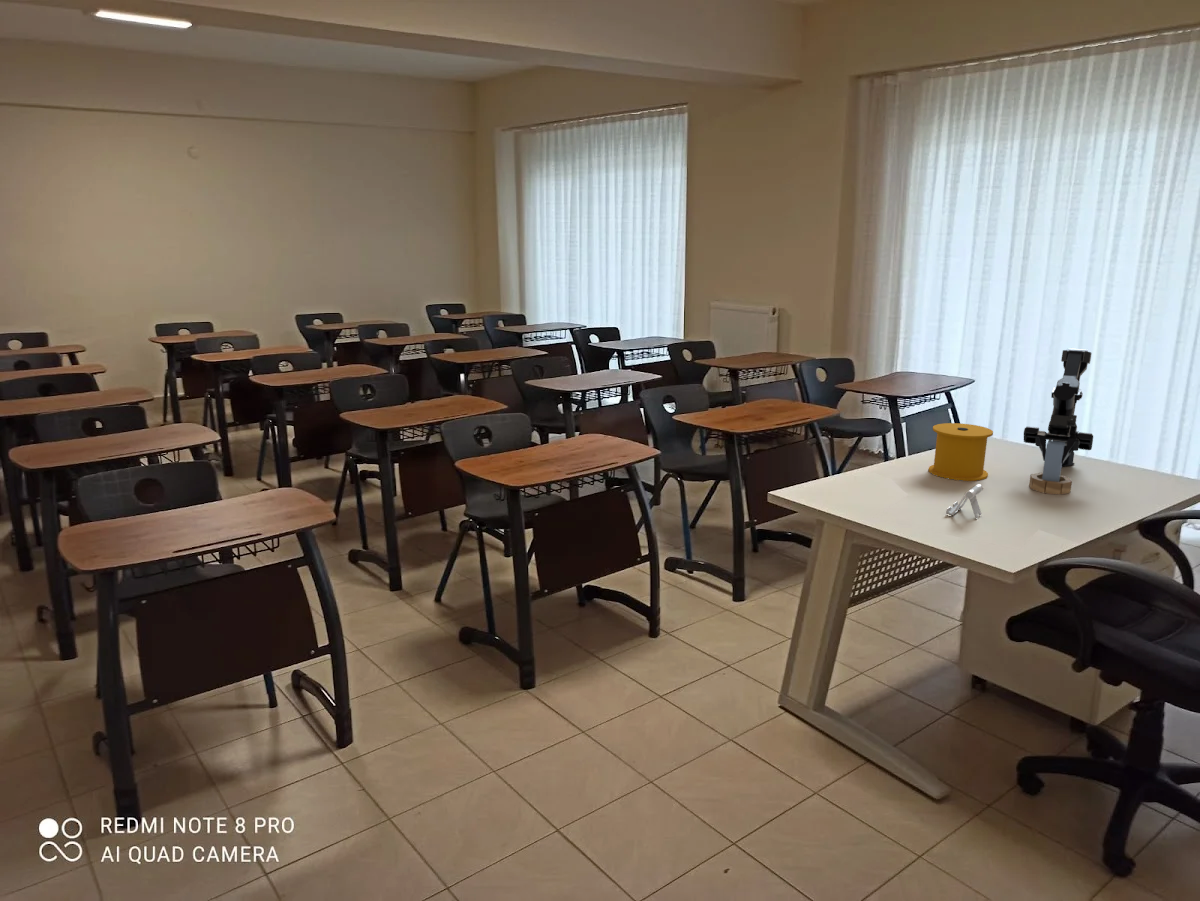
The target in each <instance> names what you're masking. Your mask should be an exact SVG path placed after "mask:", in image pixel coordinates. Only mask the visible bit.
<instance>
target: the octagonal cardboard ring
mask: <svg viewBox="0 0 1200 901" xmlns="http://www.w3.org/2000/svg"><path fill="white" fill-rule="evenodd" d="M1042 476H1043V472H1036V473H1031V474H1030V475H1029V482H1028V483H1029V485H1028V486H1029V488H1030V489H1031V490H1032V489H1033V490H1032V491H1035V490H1036V491H1035V492H1039V493H1042V494H1051V495H1059V496H1060V495H1066V494H1071V490H1072V485H1073V481H1072V479H1071V478H1070V477H1068V476H1065V475H1061V474H1060V481H1059V482H1055V481H1046V480H1043V479H1042Z"/></svg>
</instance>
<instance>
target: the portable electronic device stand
mask: <svg viewBox="0 0 1200 901" xmlns="http://www.w3.org/2000/svg"><path fill="white" fill-rule="evenodd" d="M983 489H984V488H983V485H982V484H979V483H978V484H975V485H974V486H973V487H971V488H970V489H969V490H967V491H966V492H965V493H964V495H963V496H962V497H961V498H962V499H960V501H957V500H956V501H955V502H953V503H952V505H950V506H949V507H947V508H946V510H945V514H949V515H953V516H954V515H955V514H956V513H958V512H959V511H961V508H963V507H964V506H965V504H966V503H967V500H969V502H970V506H971V509H972V512H973V515H974V518H975V519H976V518H978V519H979V515H981V514H982V512H981V511H982V510H981V508H980V505H979V501H978V499H977V495H978V494H979V493H981V492H982V491H983ZM958 510H959V511H958Z"/></svg>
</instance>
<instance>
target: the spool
mask: <svg viewBox="0 0 1200 901" xmlns="http://www.w3.org/2000/svg"><path fill="white" fill-rule="evenodd" d="M932 431H933V432H935V433H936V439H935V440H936V441H935V449H934V450H935V451H934V460H933V464H931V465H929V466H928V472H929V473H930V474H931V473H932V474H931V475H933V474H934V475H933V476H935V475H937V476H936V477H938V476H940V477H939V478H941V477H944V478H943V479H946V478H949V479H948V480H951V479H954V480H953V481H959V480H963V481H962V482H977V480H978V481H983V480H985V479H988V477H989V472H987V471H986V470H985V469H984V468H985V460H986V454H987V453H986V452H987V446H988V445H987V443H988V438H990V437H992V436H993V435H994V431H993V430H992V429H990V428H987V427H986V426H981V425H976V424H970V423H962V422H961V423H957V422H956V423H955V422H954V423H953V422H949V423H948V422H944V423H938V424H935V425H933V426H932ZM982 479H983V480H982Z"/></svg>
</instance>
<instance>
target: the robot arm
mask: <svg viewBox="0 0 1200 901" xmlns="http://www.w3.org/2000/svg"><path fill="white" fill-rule="evenodd" d="M1091 360H1092V352H1090V351H1089V349H1085V348H1083V349H1081V348H1067V349H1064V350H1062V353H1061V359H1060V361H1061V362H1062V364H1063V365H1062V366H1063V369H1064V371H1063V375H1062V377H1061V378H1060V379H1058V380H1057V383H1056V386H1054V387H1053V388H1052V391H1051V399H1053V400H1052V406H1053V408H1052V414H1051V415H1050V421H1049V422H1048V427H1047V431H1048V432H1046V431H1044V430H1040V428H1039V427H1038V426H1037V427H1036V426H1026V427H1024V429H1023V442H1024V443H1025V444H1026V443H1027V444H1034V445H1035V446H1036V447H1039V450H1040V452H1041V456H1042V460H1043V461H1045V454H1046V447H1047V441H1056V442H1065V447H1064V453H1063V456H1062V462H1061V463H1062V467H1067V466H1074V465H1075V462H1074V460H1075V459H1074V458H1075V452H1077V451H1079V450H1083V451H1084V450H1085V451H1091V450H1092V448H1093V444H1094V443H1093V442H1094V435H1093V433H1090V432H1082V431H1081V432H1079V430H1078V426H1077V415H1075V410H1076V404H1077V402H1078V401H1080V400H1081V399H1082V398H1083V396H1084V395H1083V391H1082V389H1081V388H1080V380H1081V376H1082V375H1083V374H1084V373H1085V372H1086V371H1087V369H1088V365H1089V364H1091ZM1074 451H1075V452H1074Z"/></svg>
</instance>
